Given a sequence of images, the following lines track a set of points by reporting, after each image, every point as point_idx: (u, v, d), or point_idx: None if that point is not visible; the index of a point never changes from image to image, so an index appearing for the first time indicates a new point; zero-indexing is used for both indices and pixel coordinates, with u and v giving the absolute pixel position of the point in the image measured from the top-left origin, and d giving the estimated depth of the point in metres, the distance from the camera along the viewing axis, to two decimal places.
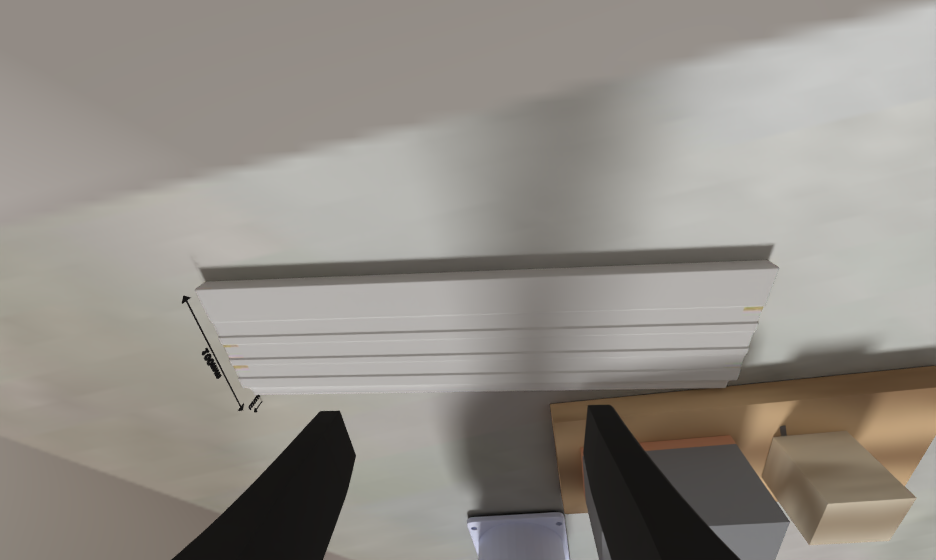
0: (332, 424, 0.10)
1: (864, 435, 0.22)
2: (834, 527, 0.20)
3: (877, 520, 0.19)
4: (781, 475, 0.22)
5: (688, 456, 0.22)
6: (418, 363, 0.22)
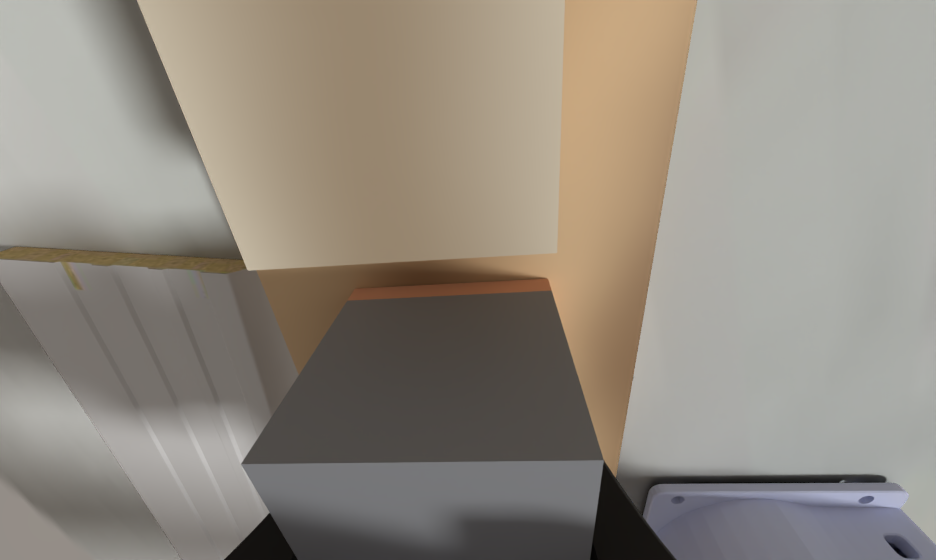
0: None
1: None
2: (406, 192, 0.04)
3: None
4: None
5: None
6: None
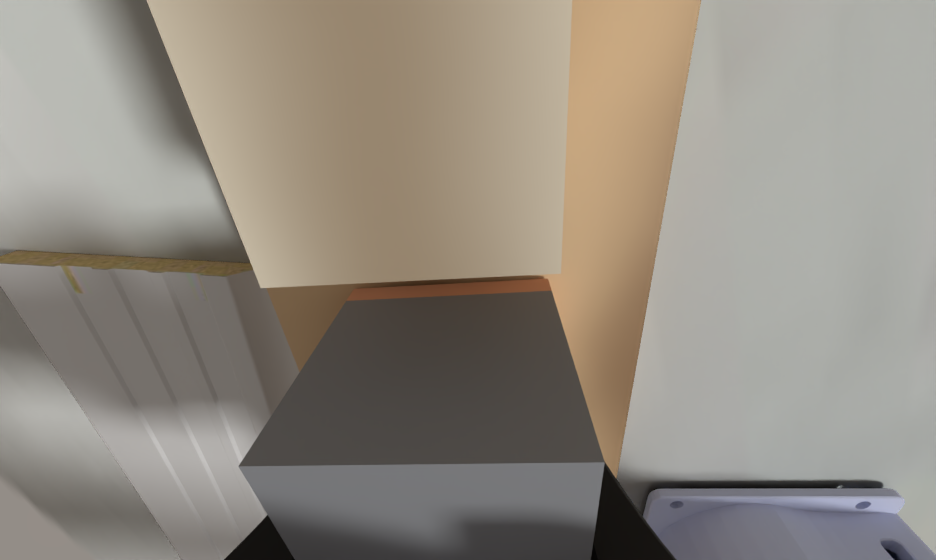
0: None
1: None
2: (415, 215, 0.04)
3: (343, 23, 0.03)
4: None
5: None
6: None
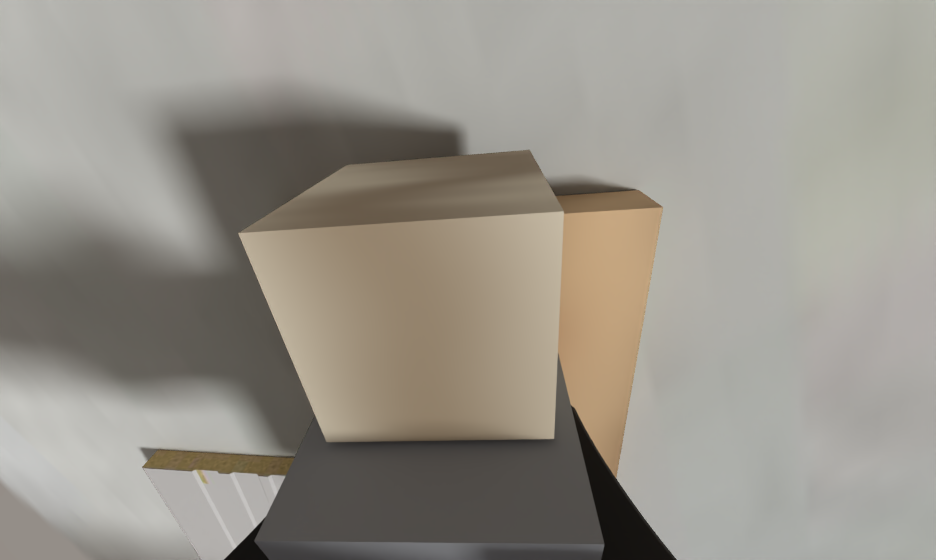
0: None
1: None
2: (446, 404, 0.06)
3: (401, 306, 0.05)
4: None
5: None
6: None
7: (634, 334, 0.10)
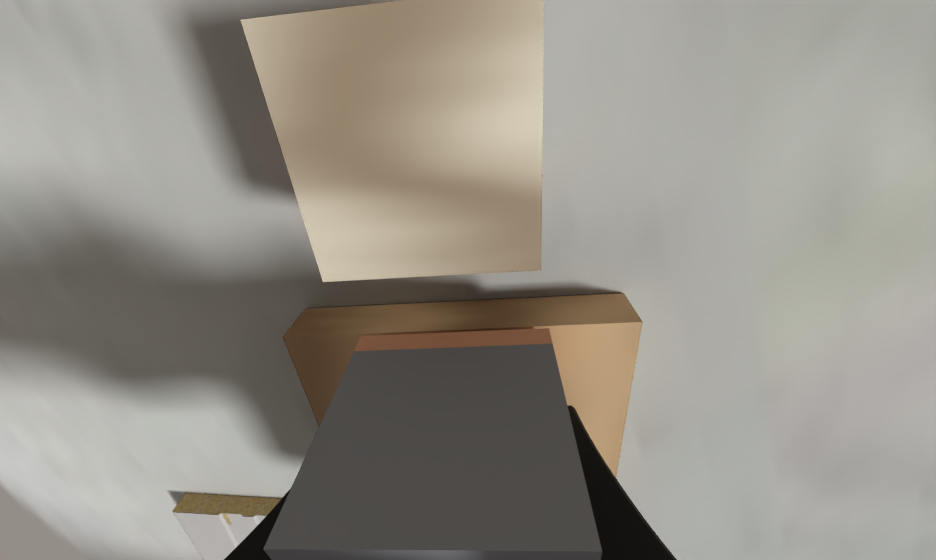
0: None
1: None
2: None
3: None
4: (413, 210, 0.06)
5: None
6: None
7: (620, 415, 0.11)
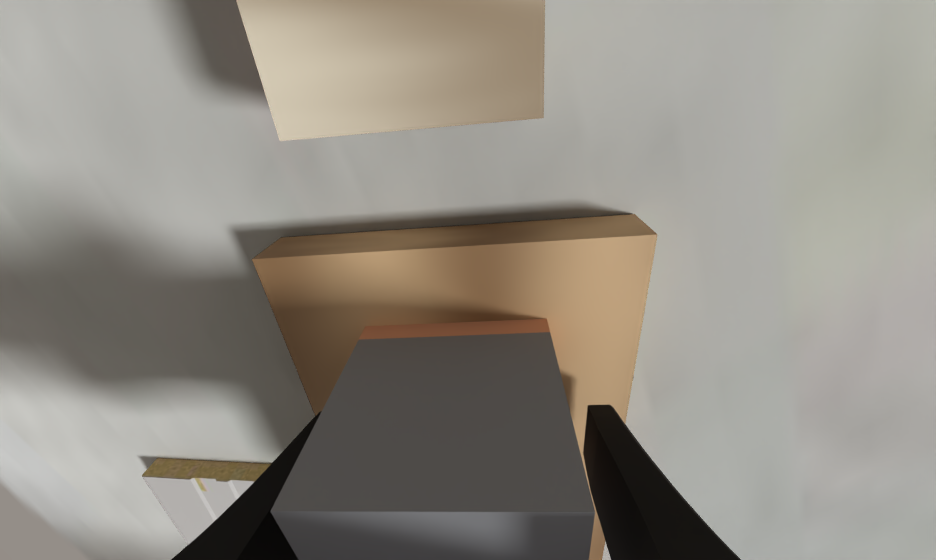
0: None
1: None
2: None
3: None
4: (385, 31, 0.05)
5: None
6: None
7: (630, 353, 0.10)
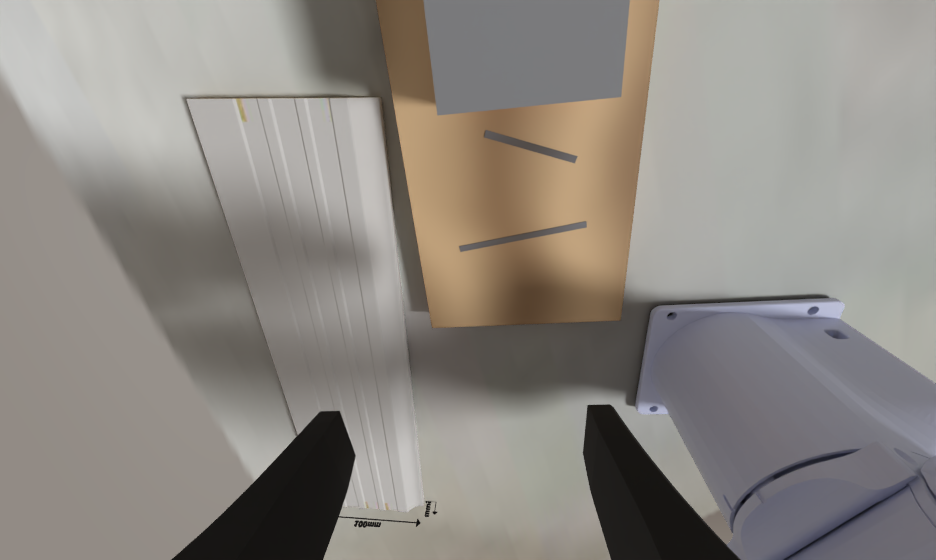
0: (331, 425, 0.10)
1: None
2: None
3: None
4: None
5: None
6: (367, 407, 0.24)
7: None
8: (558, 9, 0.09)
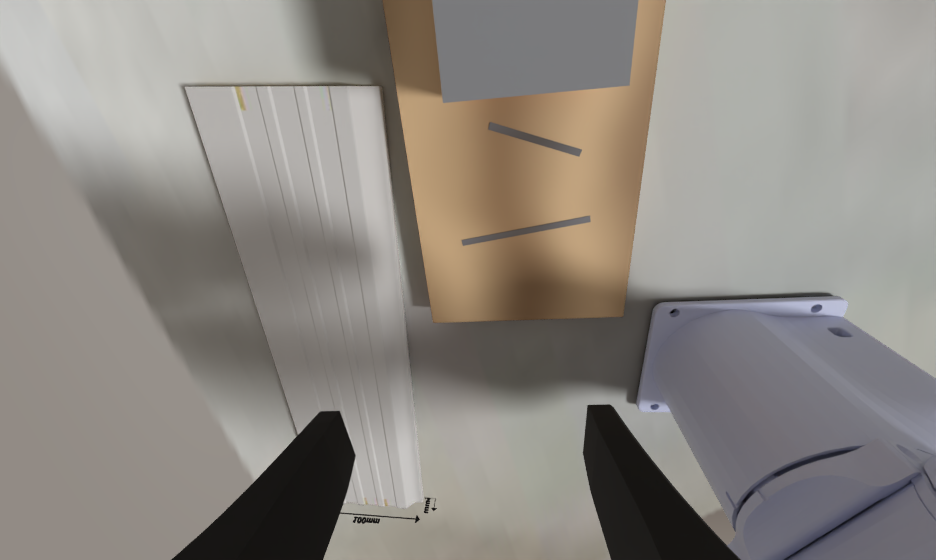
0: (331, 424, 0.10)
1: None
2: None
3: None
4: None
5: None
6: (367, 402, 0.24)
7: None
8: None
